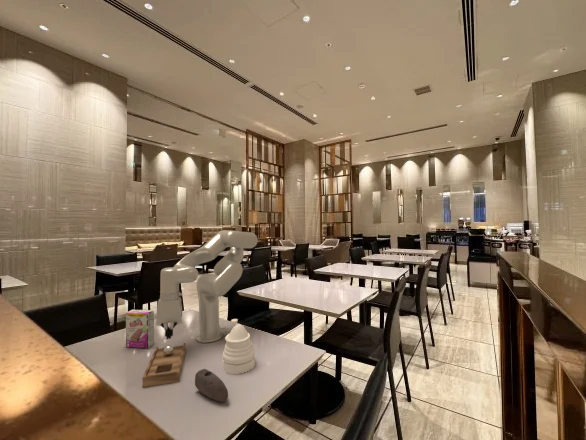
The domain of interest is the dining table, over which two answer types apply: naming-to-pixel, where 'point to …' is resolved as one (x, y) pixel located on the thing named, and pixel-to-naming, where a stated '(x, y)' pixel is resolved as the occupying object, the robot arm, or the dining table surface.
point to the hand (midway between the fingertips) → (169, 337)
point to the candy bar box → (139, 328)
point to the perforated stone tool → (211, 385)
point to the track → (164, 367)
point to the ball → (168, 349)
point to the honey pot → (238, 350)
